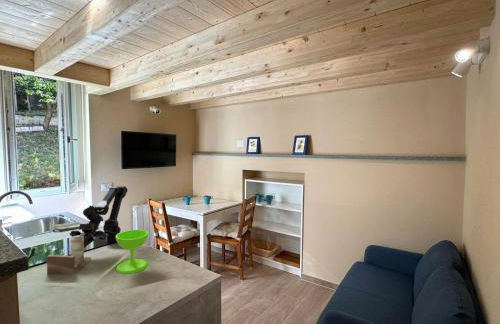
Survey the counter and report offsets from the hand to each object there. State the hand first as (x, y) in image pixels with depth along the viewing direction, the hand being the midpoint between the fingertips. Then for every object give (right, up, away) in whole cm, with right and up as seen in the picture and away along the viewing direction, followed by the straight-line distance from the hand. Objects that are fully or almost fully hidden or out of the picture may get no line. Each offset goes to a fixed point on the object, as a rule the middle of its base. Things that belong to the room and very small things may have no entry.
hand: (81, 249), depth 144 cm
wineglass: (+30, -9, -3) cm, 31 cm away
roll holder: (0, -8, -6) cm, 10 cm away
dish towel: (-50, -3, +58) cm, 77 cm away
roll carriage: (0, -6, -3) cm, 7 cm away
